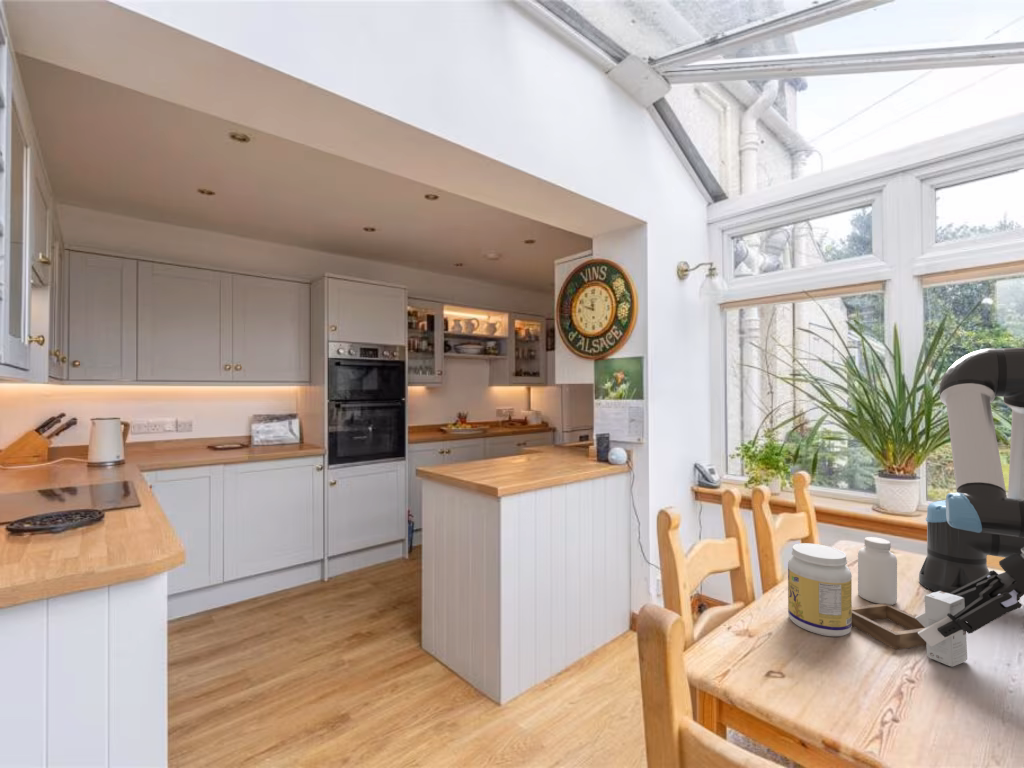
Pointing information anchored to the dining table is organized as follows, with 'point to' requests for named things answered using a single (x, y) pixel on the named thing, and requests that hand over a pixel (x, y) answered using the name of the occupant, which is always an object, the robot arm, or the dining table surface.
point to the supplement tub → (820, 589)
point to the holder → (893, 639)
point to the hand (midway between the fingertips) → (922, 631)
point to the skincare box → (954, 646)
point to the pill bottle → (877, 571)
